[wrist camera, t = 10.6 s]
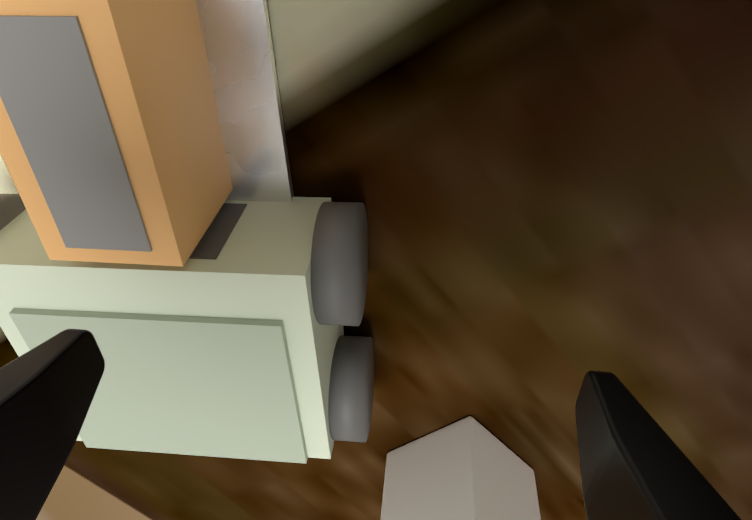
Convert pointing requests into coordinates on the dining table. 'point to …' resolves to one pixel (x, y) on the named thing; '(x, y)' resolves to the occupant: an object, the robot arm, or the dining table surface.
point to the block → (111, 127)
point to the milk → (458, 478)
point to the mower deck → (213, 331)
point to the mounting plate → (247, 98)
